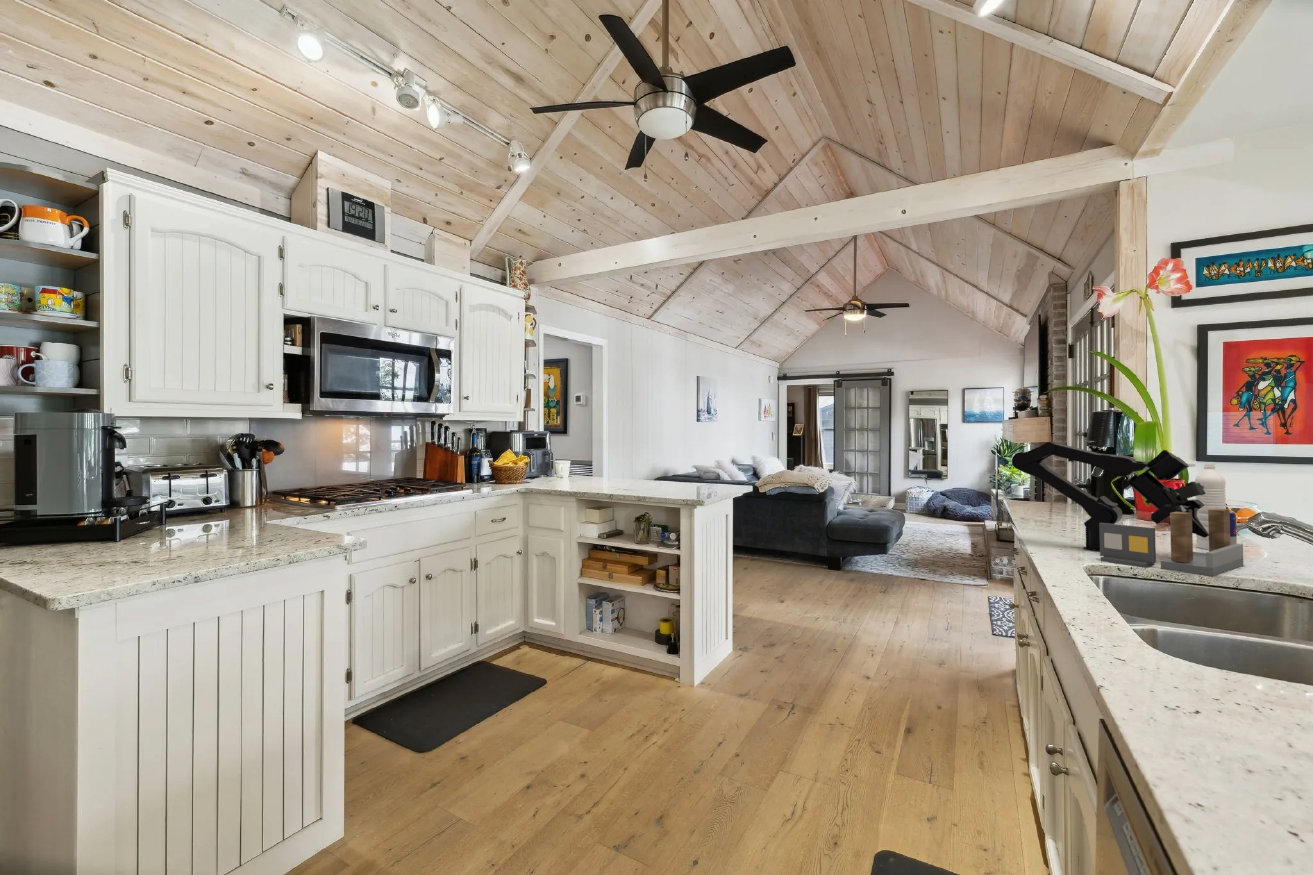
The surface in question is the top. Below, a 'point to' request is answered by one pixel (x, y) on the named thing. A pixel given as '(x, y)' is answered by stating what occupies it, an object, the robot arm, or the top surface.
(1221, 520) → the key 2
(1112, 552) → the card
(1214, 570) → the grey stepped base
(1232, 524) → the energy drink
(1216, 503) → the water bottle
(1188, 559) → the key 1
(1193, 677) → the top surface
